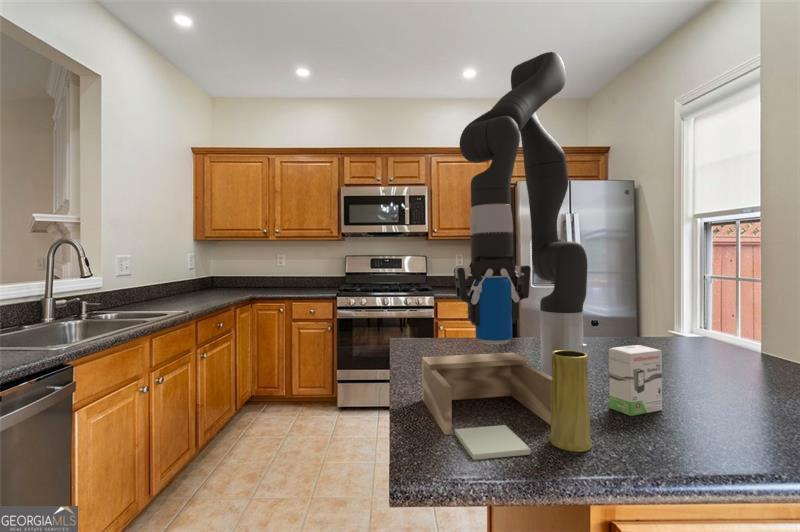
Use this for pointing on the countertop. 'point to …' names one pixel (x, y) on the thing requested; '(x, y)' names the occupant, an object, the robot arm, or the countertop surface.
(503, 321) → the beverage can
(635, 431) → the countertop surface
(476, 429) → the tile
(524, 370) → the cubby
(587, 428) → the vase
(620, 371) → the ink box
